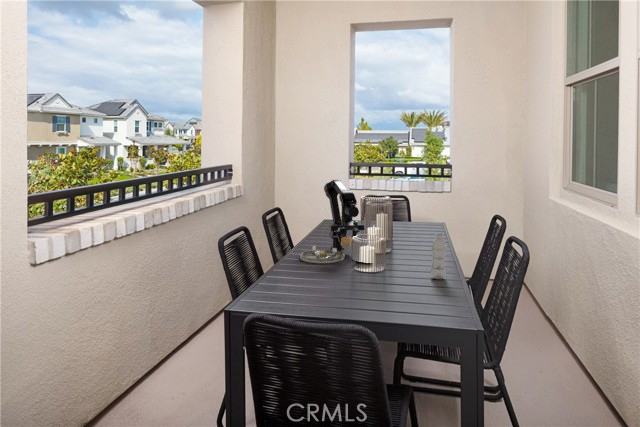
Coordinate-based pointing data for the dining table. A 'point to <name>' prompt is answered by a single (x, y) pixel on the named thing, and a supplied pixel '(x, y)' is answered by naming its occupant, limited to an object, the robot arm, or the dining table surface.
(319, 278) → the dining table surface
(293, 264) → the dining table surface
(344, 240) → the planet gear
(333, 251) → the carrier
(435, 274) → the plastic bottle
